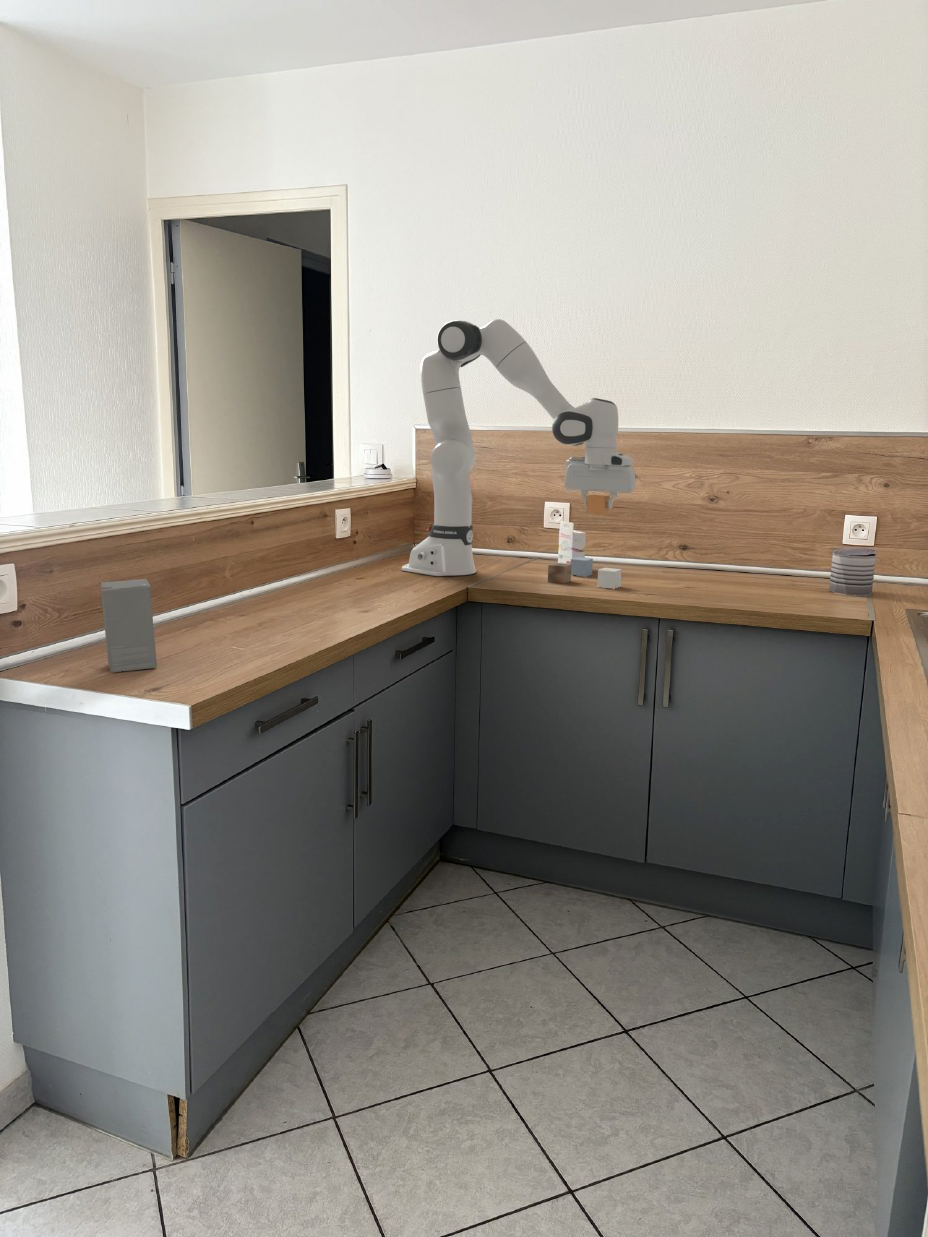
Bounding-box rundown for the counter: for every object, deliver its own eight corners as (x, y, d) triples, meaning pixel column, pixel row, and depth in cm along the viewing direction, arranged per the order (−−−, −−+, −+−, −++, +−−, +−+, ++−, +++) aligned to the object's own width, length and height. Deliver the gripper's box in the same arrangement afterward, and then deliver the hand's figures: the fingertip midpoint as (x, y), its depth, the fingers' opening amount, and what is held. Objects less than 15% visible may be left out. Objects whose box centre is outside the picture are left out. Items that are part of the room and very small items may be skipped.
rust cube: (586, 513, 265) (587, 495, 264) (592, 511, 269) (593, 494, 268) (603, 514, 262) (603, 496, 261) (609, 513, 267) (610, 495, 266)
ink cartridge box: (585, 570, 287) (587, 522, 284) (571, 571, 285) (573, 523, 282) (570, 566, 295) (572, 519, 292) (556, 567, 293) (558, 520, 290)
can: (876, 597, 253) (881, 553, 250) (832, 595, 255) (836, 551, 253) (867, 590, 264) (872, 547, 261) (825, 587, 266) (829, 545, 263)
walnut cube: (547, 582, 267) (548, 564, 266) (554, 579, 271) (555, 562, 270) (563, 584, 264) (564, 566, 263) (570, 581, 269) (571, 564, 268)
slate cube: (570, 575, 278) (570, 559, 277) (576, 573, 283) (577, 557, 281) (585, 577, 276) (586, 560, 275) (591, 575, 280) (592, 558, 279)
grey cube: (597, 587, 260) (598, 569, 259) (603, 585, 264) (604, 567, 263) (614, 589, 257) (615, 571, 256) (620, 586, 262) (621, 569, 261)
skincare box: (153, 660, 176) (149, 577, 172) (157, 670, 169) (153, 584, 166) (105, 664, 172) (99, 579, 169) (107, 674, 166) (102, 586, 163)
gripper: (561, 456, 265) (559, 505, 268) (631, 459, 255) (628, 510, 258) (570, 456, 270) (568, 504, 273) (638, 459, 260) (635, 508, 263)
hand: (598, 507), depth 265 cm, fingers closed on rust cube, 5 cm apart
